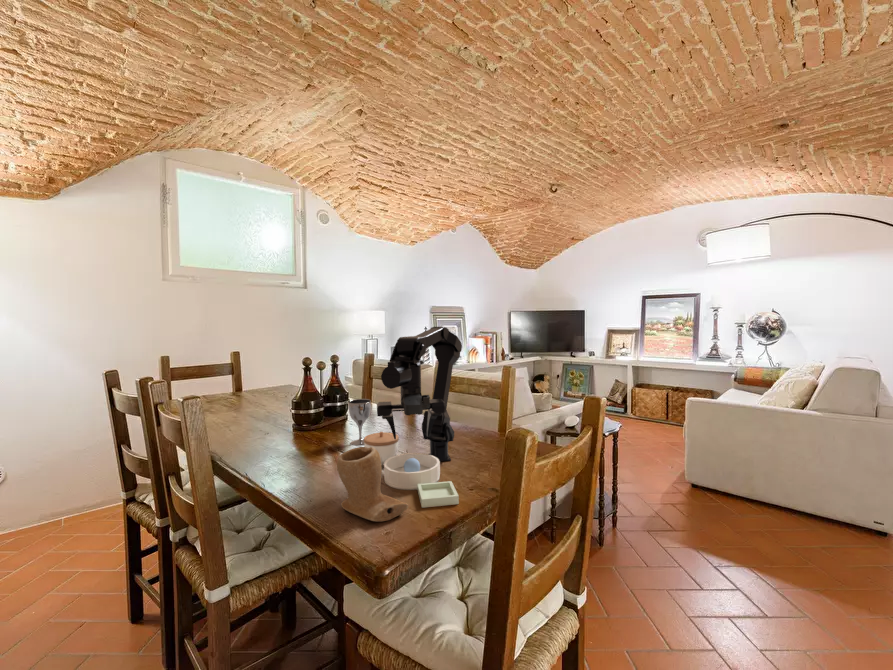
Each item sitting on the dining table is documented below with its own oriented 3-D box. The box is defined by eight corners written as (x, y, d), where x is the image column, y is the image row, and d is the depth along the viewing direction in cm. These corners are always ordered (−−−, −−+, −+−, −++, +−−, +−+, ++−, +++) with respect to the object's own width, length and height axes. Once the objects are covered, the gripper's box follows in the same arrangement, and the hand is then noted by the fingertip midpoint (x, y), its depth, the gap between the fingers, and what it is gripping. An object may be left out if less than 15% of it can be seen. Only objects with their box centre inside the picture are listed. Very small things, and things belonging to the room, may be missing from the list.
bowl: (383, 470, 123) (383, 455, 122) (435, 466, 125) (434, 451, 125) (385, 492, 107) (385, 475, 107) (444, 487, 110) (443, 470, 110)
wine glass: (373, 444, 147) (372, 402, 146) (351, 447, 144) (349, 404, 143) (369, 437, 154) (368, 398, 153) (347, 440, 151) (346, 399, 150)
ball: (403, 472, 118) (403, 456, 118) (419, 470, 119) (419, 455, 119) (404, 478, 114) (404, 462, 113) (421, 477, 114) (421, 460, 114)
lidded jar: (404, 457, 133) (403, 428, 133) (390, 469, 123) (390, 438, 123) (373, 454, 136) (373, 426, 136) (358, 466, 126) (357, 435, 125)
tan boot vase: (327, 512, 97) (326, 449, 96) (368, 495, 106) (367, 437, 105) (368, 535, 87) (367, 465, 86) (409, 513, 96) (408, 450, 95)
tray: (417, 491, 108) (417, 484, 108) (451, 488, 109) (451, 481, 109) (421, 507, 99) (421, 499, 99) (458, 504, 100) (458, 495, 100)
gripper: (377, 389, 105) (378, 449, 106) (449, 385, 109) (449, 444, 110) (376, 381, 116) (377, 436, 117) (441, 379, 120) (442, 432, 120)
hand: (411, 437), depth 116 cm, fingers open, 9 cm apart
